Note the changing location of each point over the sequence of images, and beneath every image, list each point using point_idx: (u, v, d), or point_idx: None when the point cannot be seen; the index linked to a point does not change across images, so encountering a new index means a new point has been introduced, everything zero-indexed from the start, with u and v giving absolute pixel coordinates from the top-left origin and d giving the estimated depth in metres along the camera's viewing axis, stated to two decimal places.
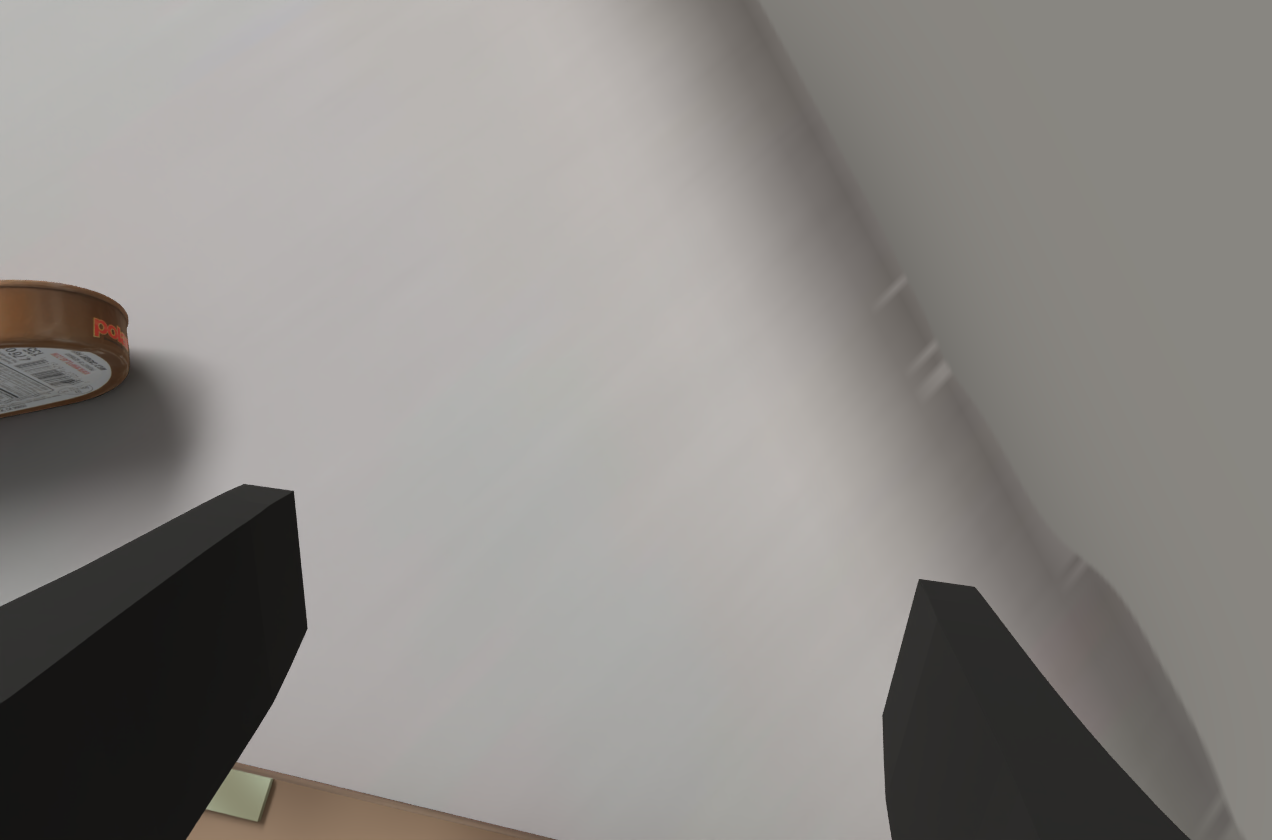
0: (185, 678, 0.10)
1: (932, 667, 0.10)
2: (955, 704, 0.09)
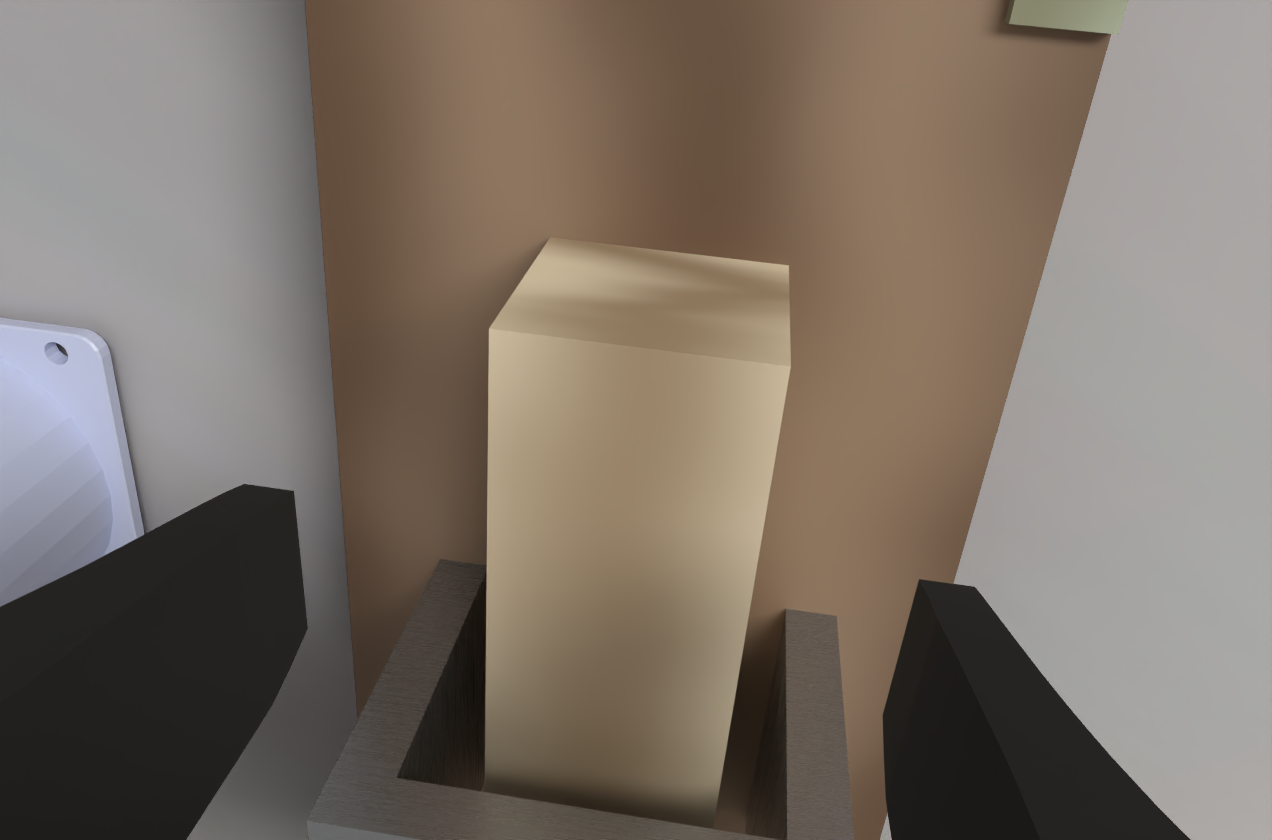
0: (185, 678, 0.10)
1: (932, 667, 0.10)
2: (955, 704, 0.09)
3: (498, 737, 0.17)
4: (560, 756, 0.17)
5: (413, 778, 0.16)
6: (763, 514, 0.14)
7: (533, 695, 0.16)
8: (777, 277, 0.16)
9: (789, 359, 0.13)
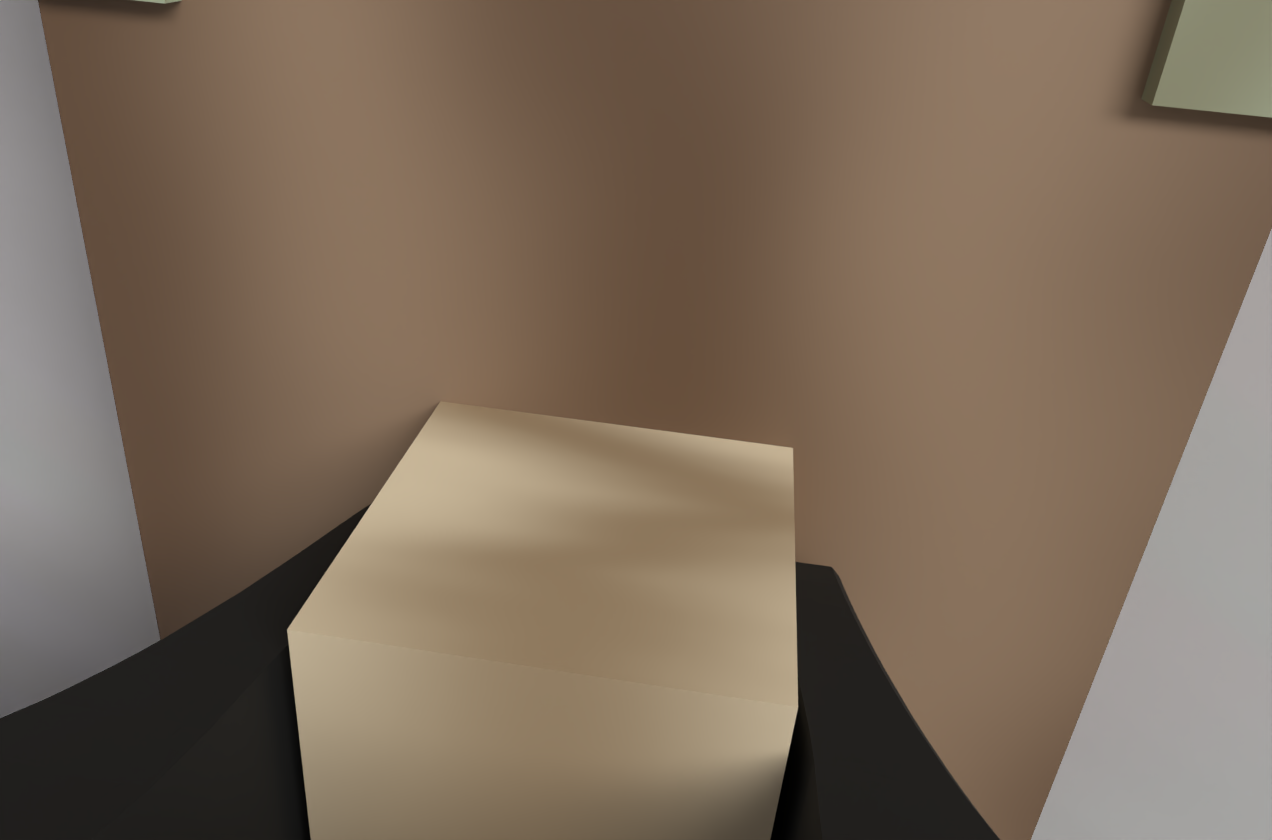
0: None
1: None
2: None
3: None
4: None
5: None
6: None
7: None
8: (776, 475, 0.10)
9: (795, 686, 0.08)
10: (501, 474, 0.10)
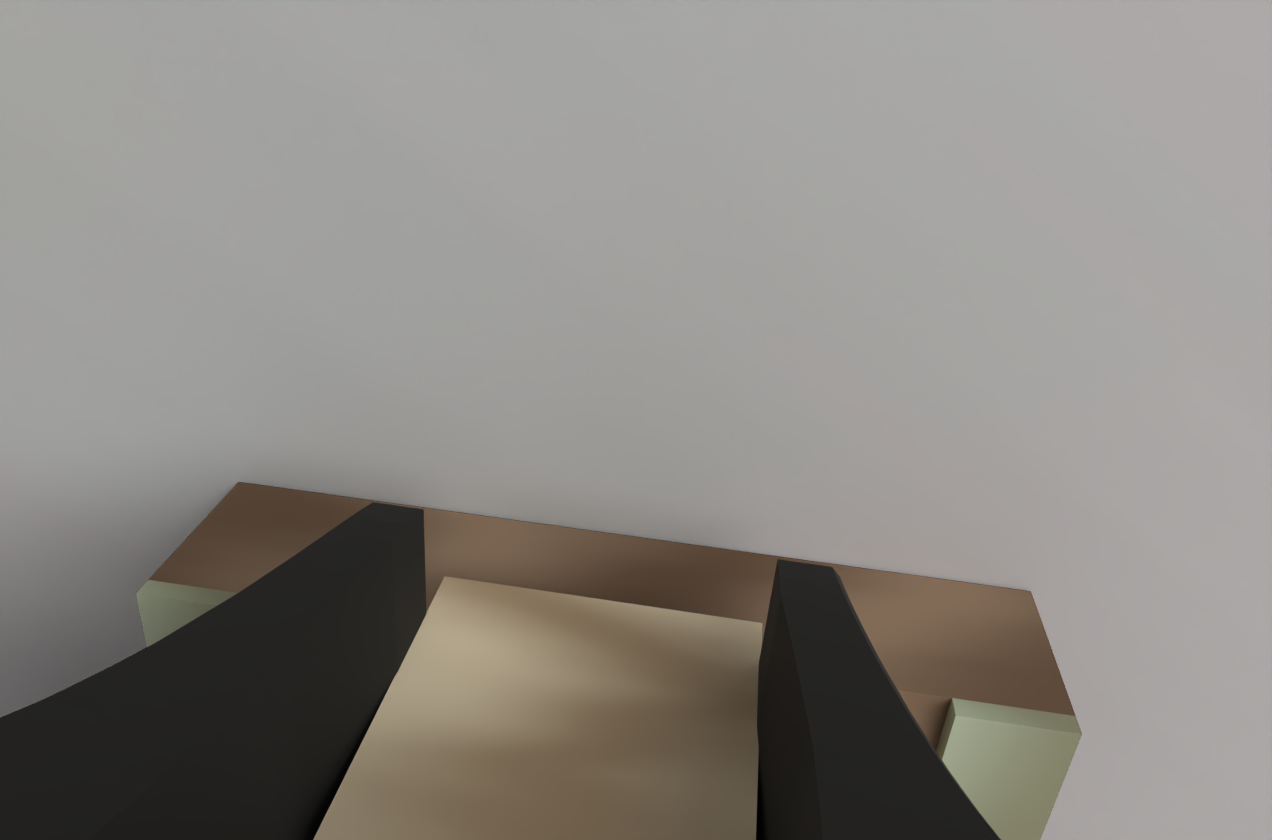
0: (336, 702, 0.09)
1: (776, 644, 0.10)
2: (786, 678, 0.09)
3: None
4: None
5: None
6: None
7: None
8: (745, 654, 0.12)
9: None
10: (499, 661, 0.11)
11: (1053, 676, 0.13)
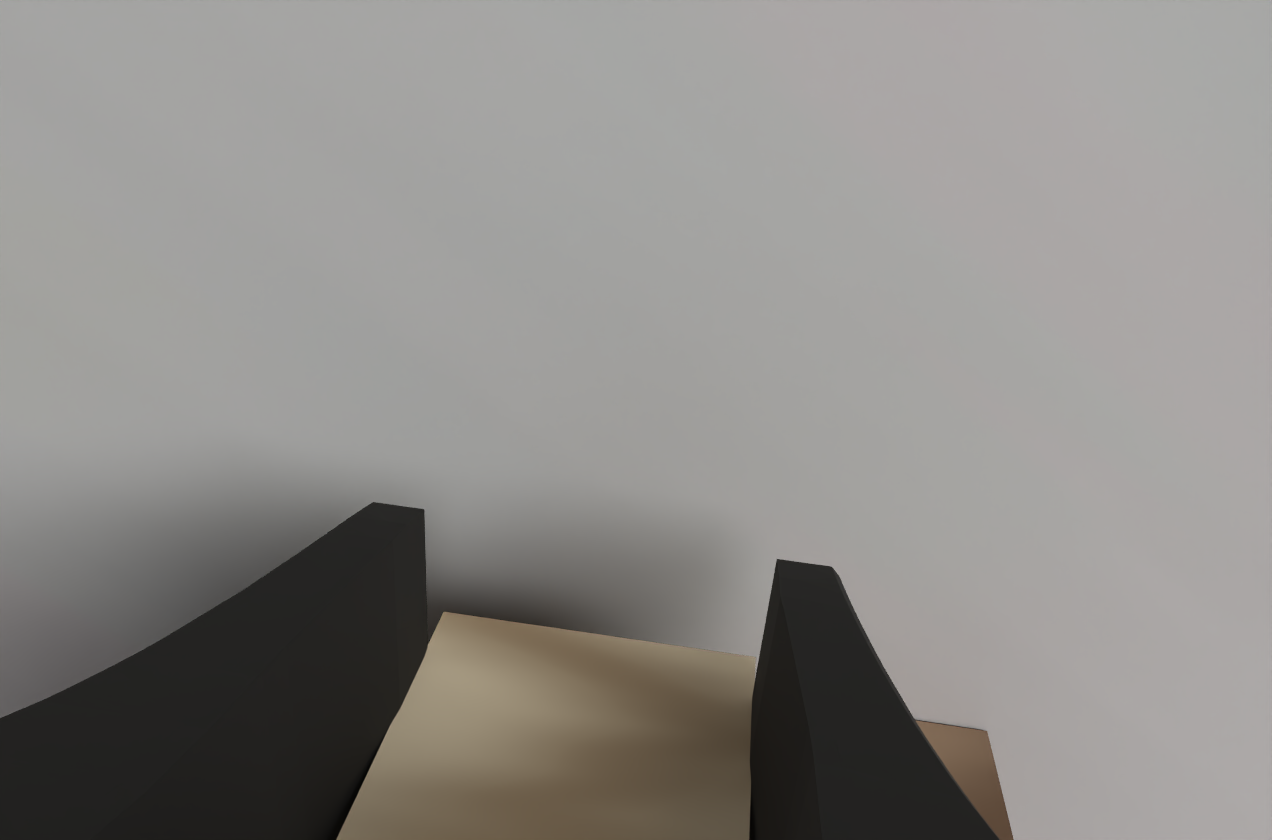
0: (337, 701, 0.09)
1: (776, 644, 0.10)
2: (786, 678, 0.09)
3: None
4: None
5: None
6: None
7: None
8: (738, 690, 0.12)
9: None
10: (497, 698, 0.11)
11: (1002, 823, 0.14)
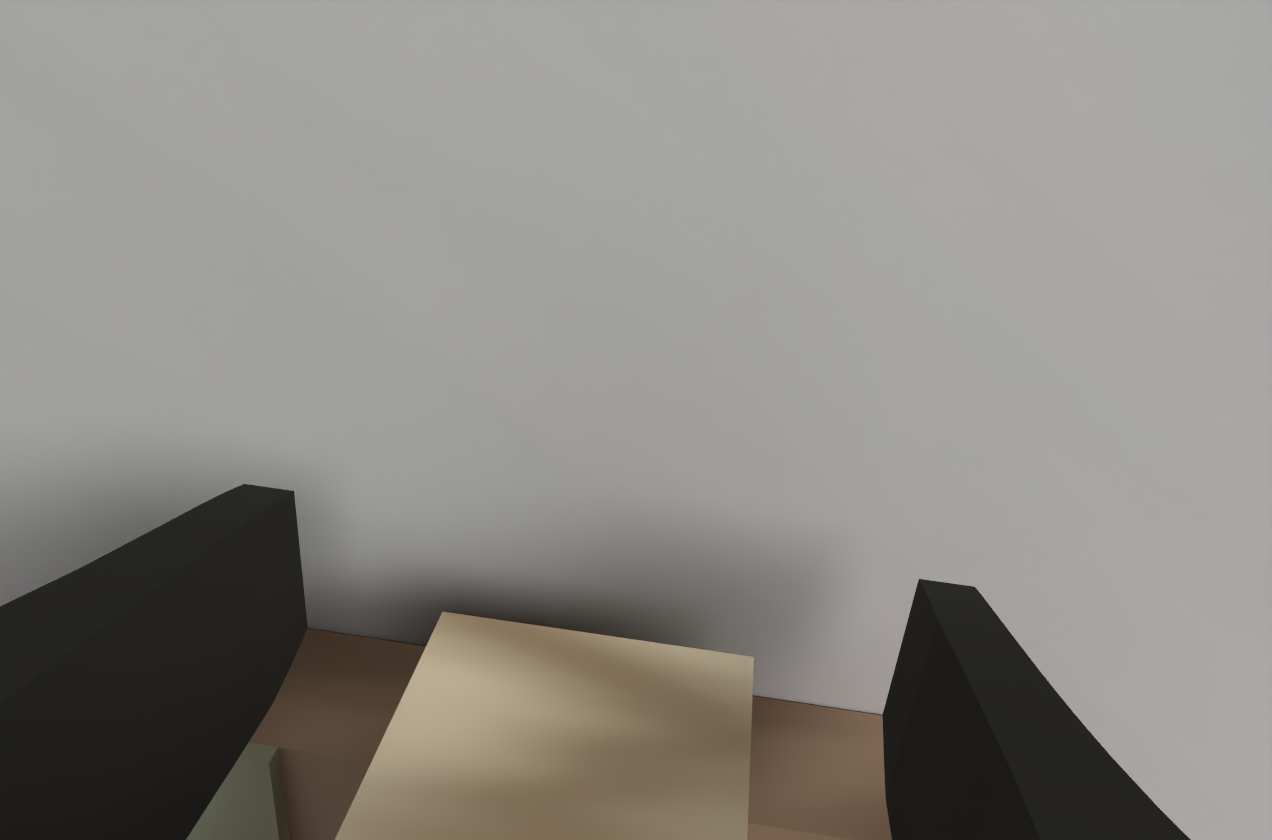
0: (185, 678, 0.10)
1: (932, 667, 0.10)
2: (955, 704, 0.09)
3: None
4: None
5: None
6: None
7: None
8: (737, 689, 0.12)
9: None
10: (496, 698, 0.12)
11: None
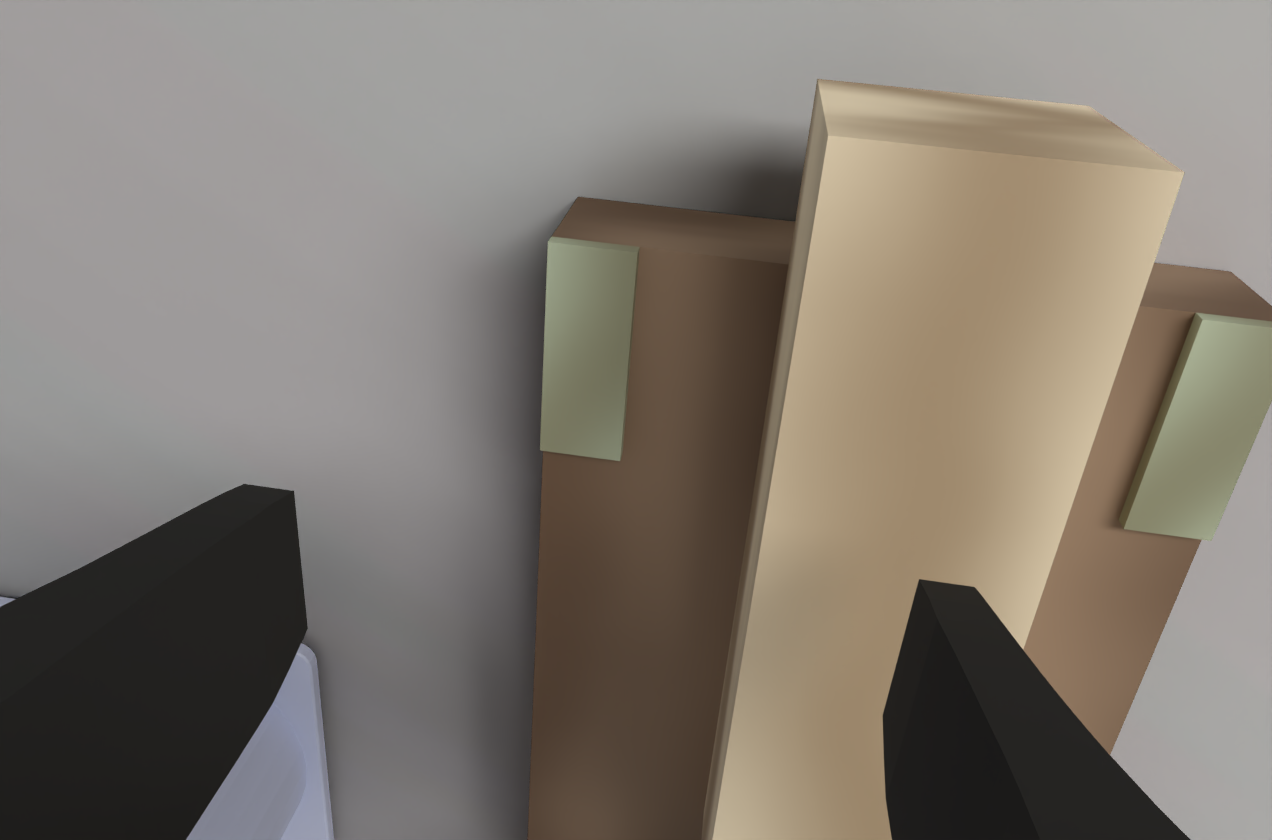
0: (186, 678, 0.10)
1: (932, 667, 0.10)
2: (955, 704, 0.09)
3: (761, 634, 0.15)
4: (830, 655, 0.15)
5: None
6: (1119, 357, 0.12)
7: (809, 584, 0.14)
8: (1087, 112, 0.14)
9: (1176, 167, 0.11)
10: (896, 102, 0.14)
11: (1267, 307, 0.16)
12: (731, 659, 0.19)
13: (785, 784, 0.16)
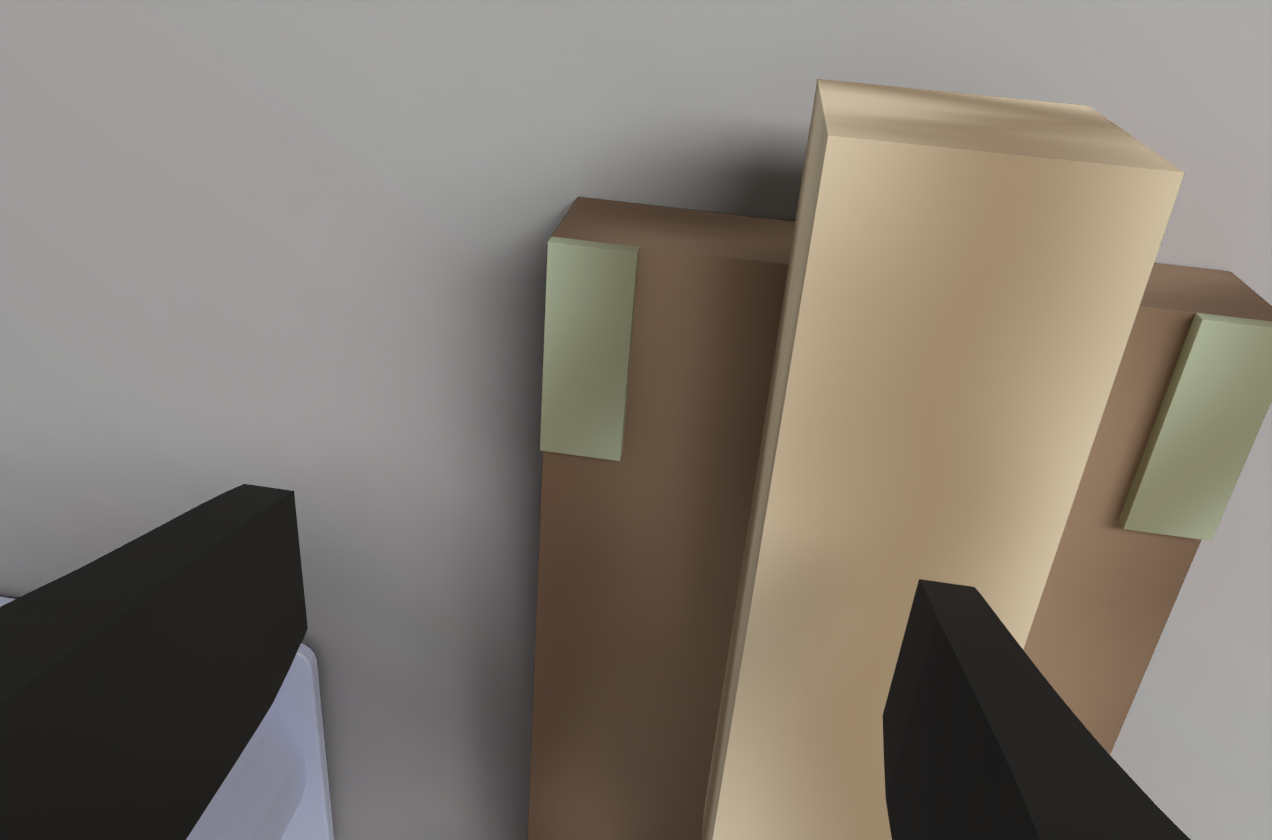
0: (186, 678, 0.10)
1: (932, 667, 0.10)
2: (955, 704, 0.09)
3: (761, 634, 0.15)
4: (830, 655, 0.15)
5: None
6: (1119, 357, 0.12)
7: (809, 584, 0.14)
8: (1087, 112, 0.14)
9: (1176, 167, 0.11)
10: (896, 102, 0.14)
11: (1267, 307, 0.16)
12: (731, 659, 0.19)
13: (785, 784, 0.16)
